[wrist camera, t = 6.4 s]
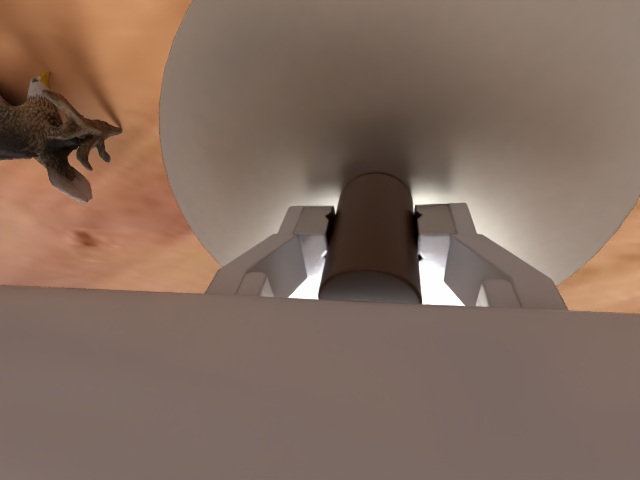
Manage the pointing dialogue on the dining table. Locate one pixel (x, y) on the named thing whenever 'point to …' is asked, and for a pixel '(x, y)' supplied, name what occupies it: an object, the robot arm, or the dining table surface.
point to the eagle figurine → (52, 136)
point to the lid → (405, 129)
